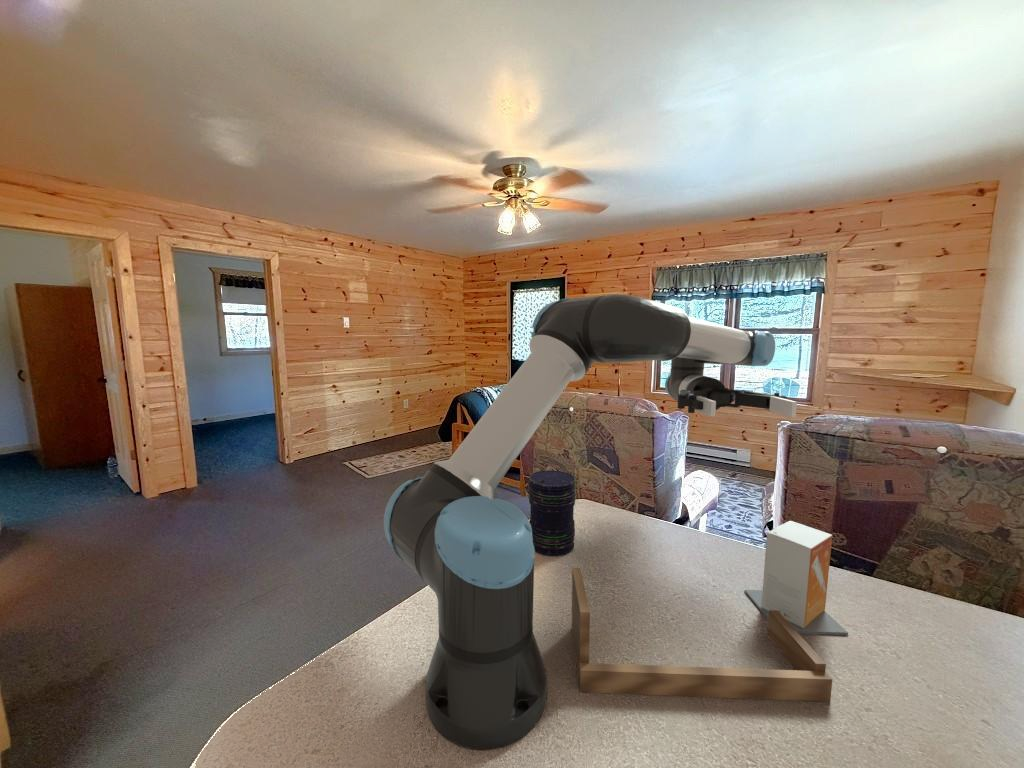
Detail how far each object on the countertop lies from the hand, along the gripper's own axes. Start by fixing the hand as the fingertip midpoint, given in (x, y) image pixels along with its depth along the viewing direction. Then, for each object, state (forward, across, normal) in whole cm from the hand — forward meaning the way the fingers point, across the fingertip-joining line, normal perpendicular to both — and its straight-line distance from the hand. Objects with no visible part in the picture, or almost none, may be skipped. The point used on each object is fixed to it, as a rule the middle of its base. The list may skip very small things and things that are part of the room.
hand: (753, 409), depth 70 cm
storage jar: (-12, +34, -32) cm, 48 cm away
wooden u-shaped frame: (+18, +17, -32) cm, 41 cm away
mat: (+8, -4, -32) cm, 33 cm away
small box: (+8, -4, -32) cm, 33 cm away
